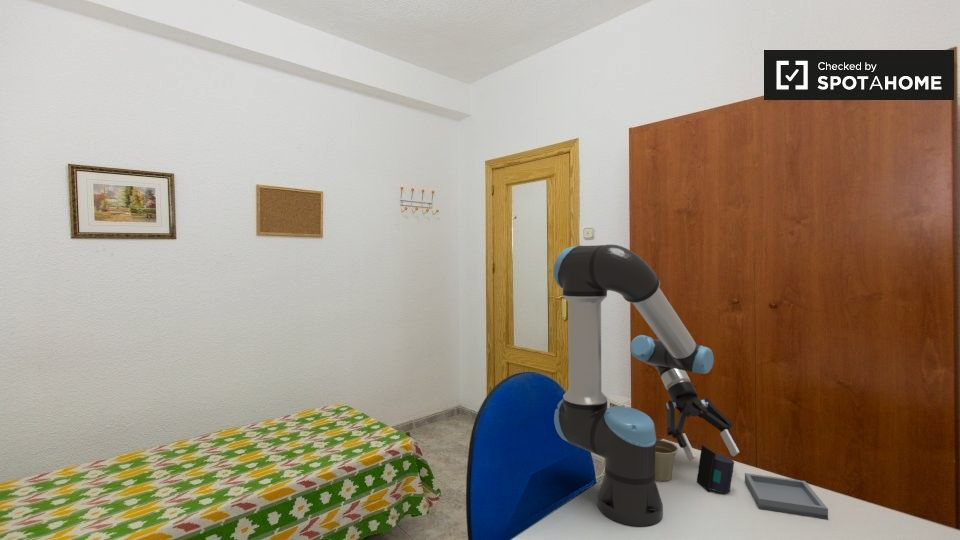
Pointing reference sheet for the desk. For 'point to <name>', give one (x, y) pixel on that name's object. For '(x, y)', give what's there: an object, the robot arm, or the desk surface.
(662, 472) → the flower pot
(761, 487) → the tray
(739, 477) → the desk surface
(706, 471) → the dark cylinder with plate
